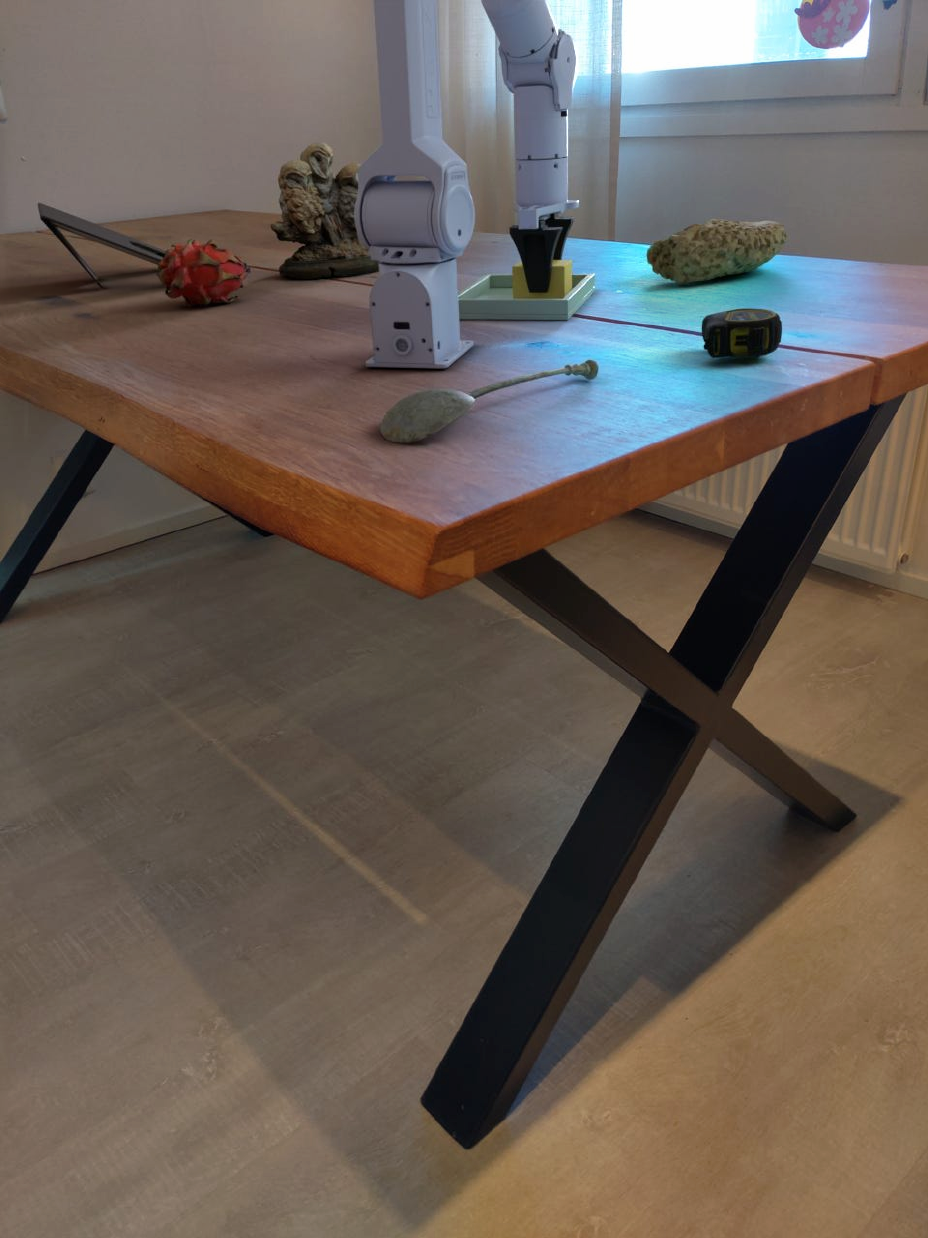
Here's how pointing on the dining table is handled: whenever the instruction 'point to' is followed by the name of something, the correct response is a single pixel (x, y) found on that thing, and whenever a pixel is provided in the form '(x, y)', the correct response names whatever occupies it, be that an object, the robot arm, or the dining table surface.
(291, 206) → the owl figurine
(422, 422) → the soupspoon
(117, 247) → the laptop tray
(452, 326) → the robot arm
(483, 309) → the tray
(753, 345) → the tape measure
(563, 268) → the yellow block
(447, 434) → the dining table surface
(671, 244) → the sponge
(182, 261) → the dragon fruit
